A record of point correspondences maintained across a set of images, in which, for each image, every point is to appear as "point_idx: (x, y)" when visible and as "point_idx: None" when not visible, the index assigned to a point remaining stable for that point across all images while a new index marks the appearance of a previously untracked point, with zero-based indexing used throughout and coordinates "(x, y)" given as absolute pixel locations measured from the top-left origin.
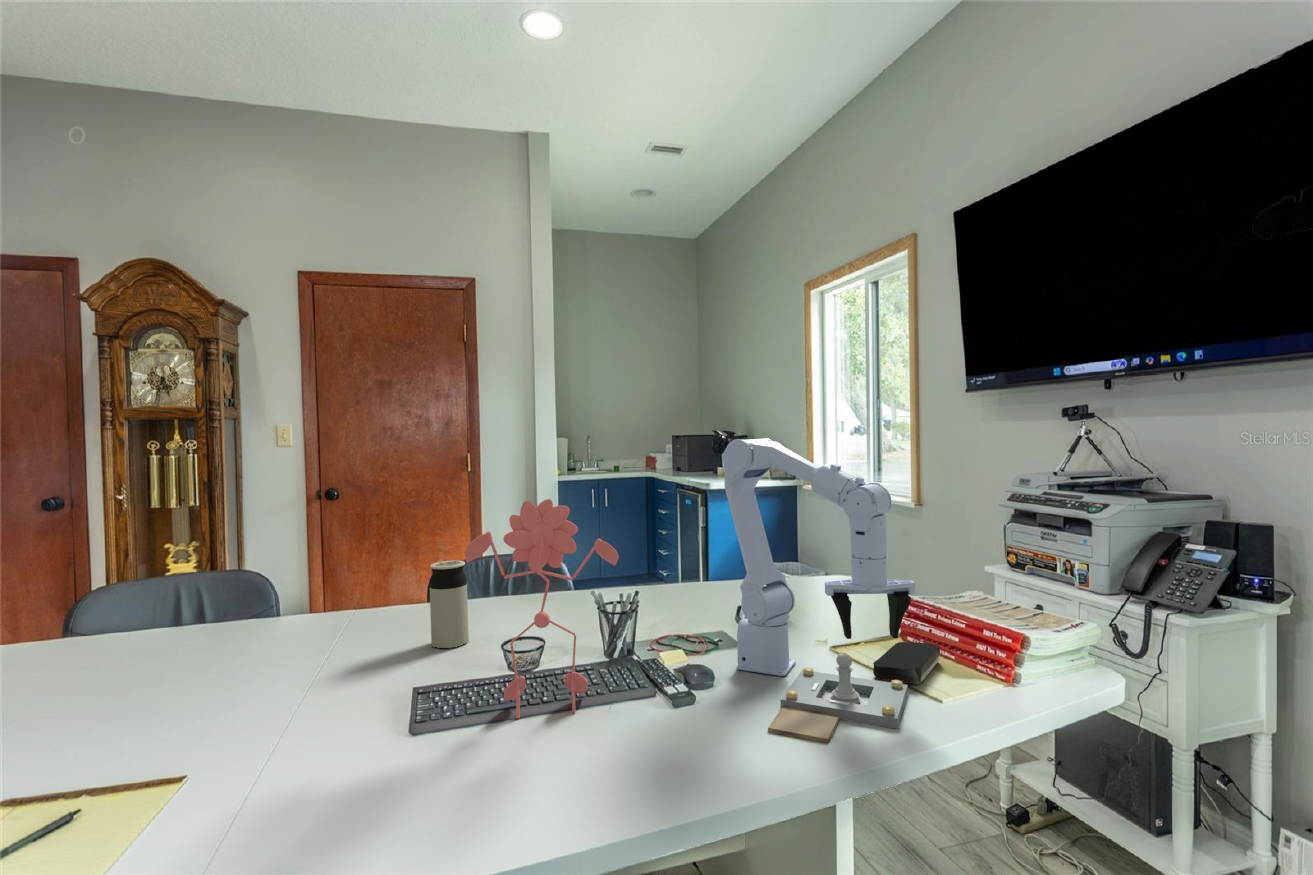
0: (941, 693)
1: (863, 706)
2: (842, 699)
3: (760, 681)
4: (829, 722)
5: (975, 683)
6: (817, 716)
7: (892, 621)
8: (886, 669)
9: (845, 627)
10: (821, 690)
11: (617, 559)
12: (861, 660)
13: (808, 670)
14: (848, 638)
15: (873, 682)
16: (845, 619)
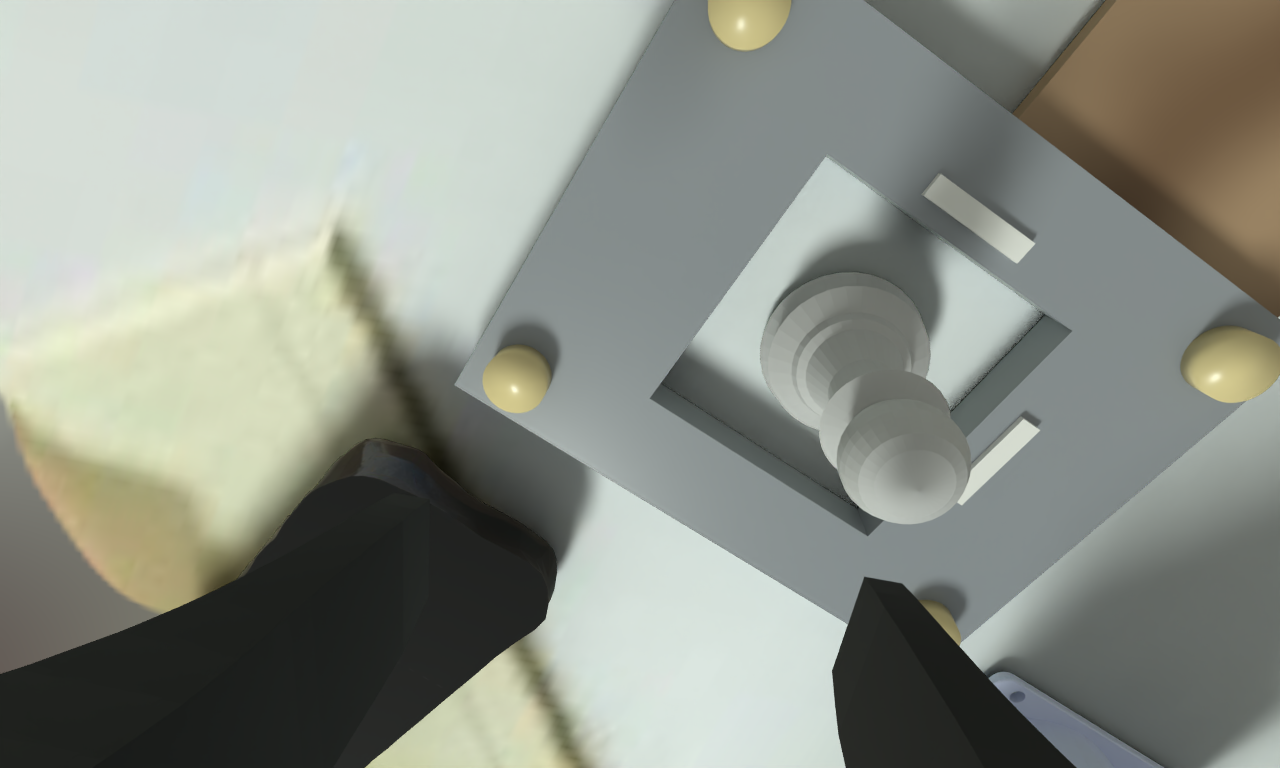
0: (300, 337)
1: (853, 140)
2: (899, 301)
3: (1149, 653)
4: (1147, 24)
5: (102, 410)
6: (1165, 132)
7: (342, 657)
8: (503, 541)
9: (976, 678)
10: None
11: None
12: (535, 737)
13: None
14: (894, 584)
15: (625, 451)
16: (1054, 758)
